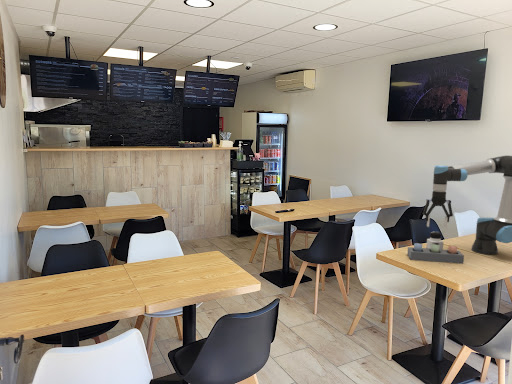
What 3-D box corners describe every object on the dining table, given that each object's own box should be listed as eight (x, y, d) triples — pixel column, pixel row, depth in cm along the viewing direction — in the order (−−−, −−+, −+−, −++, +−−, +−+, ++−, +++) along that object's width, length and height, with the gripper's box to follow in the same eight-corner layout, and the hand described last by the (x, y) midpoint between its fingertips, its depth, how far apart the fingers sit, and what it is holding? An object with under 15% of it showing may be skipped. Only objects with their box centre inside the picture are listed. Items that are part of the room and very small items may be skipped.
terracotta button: (455, 253, 236) (455, 245, 235) (457, 255, 232) (458, 247, 231) (446, 252, 237) (447, 245, 237) (449, 255, 233) (449, 247, 232)
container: (442, 253, 250) (444, 233, 248) (431, 253, 250) (432, 233, 248) (437, 249, 257) (439, 231, 256) (426, 249, 257) (427, 230, 256)
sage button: (438, 252, 238) (438, 244, 238) (439, 254, 234) (440, 246, 233) (429, 251, 239) (430, 244, 239) (431, 253, 235) (432, 246, 234)
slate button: (421, 251, 240) (421, 243, 240) (422, 253, 236) (423, 245, 235) (412, 250, 241) (413, 242, 241) (414, 252, 237) (414, 245, 236)
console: (457, 258, 239) (458, 250, 238) (463, 263, 228) (464, 255, 228) (407, 254, 246) (407, 247, 245) (410, 259, 235) (410, 252, 234)
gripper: (457, 190, 233) (454, 226, 236) (418, 189, 237) (416, 224, 240) (461, 192, 225) (457, 229, 228) (421, 191, 230) (418, 227, 233)
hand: (436, 226), depth 234 cm, fingers open, 9 cm apart
